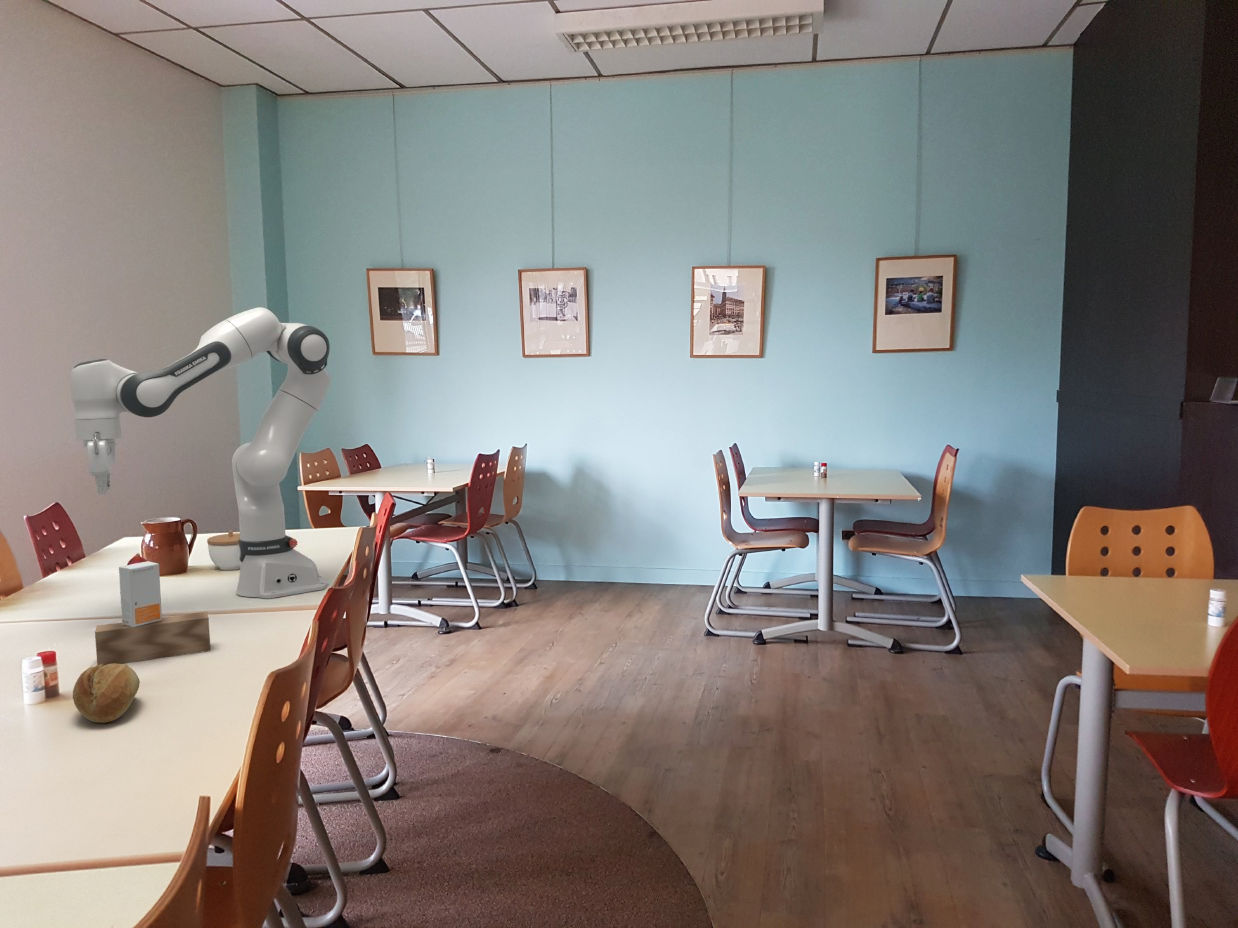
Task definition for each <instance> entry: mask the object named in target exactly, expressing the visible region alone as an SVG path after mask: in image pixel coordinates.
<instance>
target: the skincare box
mask: <svg viewBox="0 0 1238 928" xmlns="http://www.w3.org/2000/svg"><path fill="white" fill-rule="evenodd" d="M118 573H119V589H120V590H119V591H120V604H121V605H120V608H121V622H122V624H123V625H126V626H130V627H136V626H140V625H145V624H149V623H153V622H158V621H162V617H163V616H162V601H161V600H162V599H161V598H162V597H161V596H162V595H161V580H160V579H161V577H160V564H159V563H157V562H153V561H148V560H147V562H142V563H135V564H131V565H127V564H126V565H123V566H118Z"/></svg>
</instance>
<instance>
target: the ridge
mask: <svg viewBox="0 0 1238 928" xmlns="http://www.w3.org/2000/svg"><path fill="white" fill-rule="evenodd" d="M209 619H210V618H209V613H208V611H203V612H201V611H200V612H195V613H194V612H193V613H185V614H179V615H178V614H177V615H172V616H169V615H168V616H162V621H158V622H153V623H149V624H145V625H140V626H136V627H130V626H126V625H123V624H122V621H121V622H114V623H107V624H99V625H96V627H95V631H94V639H95V640H94V641H95V650H96V662H97V663H96V664H97V665H100V664H104V666H105V665H107V664H113V663H116V664H128V663H133V662H141V661H148V660H154V659H156V660H157V659H161V657H163V658H168V657H175V656H174V655H176V656H183V655H189V654H188V653H190V654H195V653H202V652H201V651H204V652H209V651H208V650H211V635H210V620H209ZM182 654H183V655H182ZM97 665H96V666H97Z"/></svg>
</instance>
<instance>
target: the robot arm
mask: <svg viewBox="0 0 1238 928" xmlns="http://www.w3.org/2000/svg"><path fill="white" fill-rule="evenodd" d="M330 345H331V344H330V341H329V338H328V337H327V335H326V334H325V333H324V331H322V330H321V329H319V328H317V327H315V326H312V325H308V324H305V323H302V322H301V323H300V322H286V321H285V322H284V321H280V320H279V318H278V317H277V316H276V315H275V314H274V313H273V311H271V310H270V309H267V308H265V307H259V306H258V307H255V308H251V309H248V310H244V311H242V312H239V313H237V314H235V315H231V316H230V317H228V318H226V319H224V320H222V321H221V322H218V323H216V324H215V325H214V326H211V328H210V329H208V330H207V331H205V333H203V334H202V335H201V337H200V339H199V344H198V345H197V347H196V348H195V349H194V350H193V351H191V352H190V353H189V354H187V355H186V356H183V357H181V358H180V359H178V360H176V361H174V362H173V363H171V364H170V365H167V366H166V367H164V368H162V369H158V370H151V371H142V372H137V371H135V370H131V369H128V368H126V367H123V366H120V365H119V364H117V363H115V362H113V361H111V360H110V359H106V358H99V359H94V360H93V359H92V360H87V361H82V362H79V363H77V364H76V365H74V367H73V368H72V369H71V373H70V391H71V392H70V393H71V400H72V403H73V405H74V415H73V421H74V424H73V425H74V431H75V440H77V441H82V443H83V448H86V452H87V453H86V454H87V465H88V466H87V467H88V473H89V476H90V477H94V479H95V480H94V481H95V484H96V487H97V494H98V495H99V496H100V495H107V494H108V490H110V489H111V471H112V469H113V468H114V466H115V456H116V455H115V453H116V452H115V451H116V450H115V449H116V448H115V447H116V445H117V442H116V441H117V440H116V439H120V438H122V429H121V419H120V418H121V417H120V415H121V413H127V414H132V415H135V416H138V417H141V418H155V417H157V416H160V415H162V414H164V413H165V412H166V411H167V410H168V409H169V408H170V407H171V406H172V405H173V402H174V401H175V400H176V399H177V398H178V396H179V395H180V394H181V393H183V392H184V391H186V390H187V389H189V388H190V387H192V386H194V385H196V384H197V383H199V382H201V381H203V380H204V379H207V377H210V376H211V375H213V374H216V373H219V372H224V371H227V370H230V369H232V368H236V367H238V366H240V365H243V364H244V363H247V362H248V361H250V360H251V359H254V358H255V357H257V356H259V355H260V354H262V353H265V352H266V353H267V354H268V355H269V356H270V357H271V358H272V359H274V360H275V361H277V362H281V363H284V364H286V365H287V373H286V375H285V380H284V381H283V382H282V383H281V385H280V387H279V388H278V390H277V392H276V394H275V395H274V397H273V399H272V400H271V402H270V403H269V404H268V406H267V408H266V409H265V411H264V413H263V414H262V417H261V420H260V422H259V425H258V428H257V430H256V432H255V434H254V436H253V438H252V439H251V440H252V441H250V442H246V443H244V444H242V445H240V446H239V447H237V449H236V450H235V451H234V453H233V455H232V458H231V467H232V469H231V470H232V475H233V483H234V492H235V497H236V501H237V509H238V525H239V526H238V527H239V528H238V529H239V533H240V539H239V544H238V553H239V559H240V561H241V563H240V569H239V577H238V583H237V587H236V592H235V594H237V596H242V597H250V598H260V599H274V598H278V597H279V598H280V597H285V596H292V595H298V594H303V593H308V592H315V591H320V590H325V589H326V588H327V587H328V585H329V584H328V580H327V579H326V578H325V577H323V576H320V575H319V571H318V570H319V569H318V568H317V565H316V563H315V562H314V560H312V559H311V558H309V557H308V556H306V555H305V554H303V553H301V552H299V551H298V550H296V549H295V548H296V547H297V546H298V541H297V539H296V538H293V537H291V536H289V535H287V534H286V521H285V517H286V515H285V505H284V501H283V498H282V493H281V486H280V483H281V482H283V480H285V478H286V476H287V474H288V471H289V467H290V466H291V464H292V461H293V459H294V458H295V455H296V452H297V450H298V447H299V446H300V443H301V440H302V438H303V436H304V434H305V432H306V431H307V429H308V428H309V426H310V425H311V423H312V421H313V420H314V418H315V416H316V414H317V413H318V410H319V409H320V408H321V405H322V403H323V401H324V399H325V398H326V397H325V396H326V395H327V393H328V389H329V387H330V384H331V380H332V379H331V376H330V374H329V372H328V371H327V369H326V367H327V365H328V358H329V355H330V348H331V346H330Z"/></svg>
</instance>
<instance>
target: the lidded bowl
mask: <svg viewBox="0 0 1238 928" xmlns="http://www.w3.org/2000/svg"><path fill="white" fill-rule="evenodd" d="M227 531H228V532H227V533H225V534H219V535H214V536H211V537H210V536H209V537H208V538H207V540H206V541H207V549H208V554H209V555H208V556H209V558H210V560H211V561H212V563H213V564H214V565H215V566H216V567H217V568H218V569H219V570H221V571H234V570H235V571H236V570H240V563H241V561H240V559H239V553H238V544H239V539H240V532H238V533H237V532H235V533H234V531H233V530H227Z"/></svg>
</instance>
